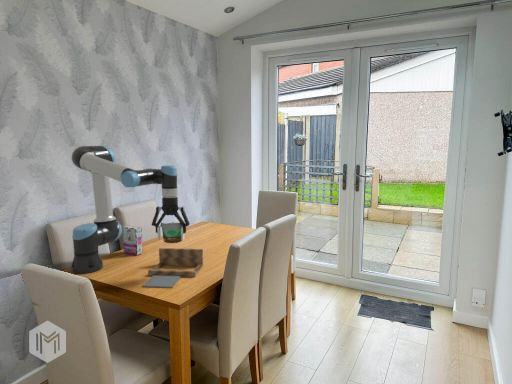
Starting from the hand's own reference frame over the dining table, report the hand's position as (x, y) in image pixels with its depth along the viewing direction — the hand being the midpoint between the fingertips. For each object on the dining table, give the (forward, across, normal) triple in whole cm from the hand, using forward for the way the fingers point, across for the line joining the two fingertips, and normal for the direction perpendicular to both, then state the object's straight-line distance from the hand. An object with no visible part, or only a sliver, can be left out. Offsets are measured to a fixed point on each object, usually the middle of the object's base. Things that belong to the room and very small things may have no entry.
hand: (171, 239), depth 180 cm
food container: (+2, +1, 0) cm, 2 cm away
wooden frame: (+18, +1, +5) cm, 19 cm away
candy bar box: (+18, -33, +32) cm, 50 cm away
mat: (+18, -2, -11) cm, 21 cm away
